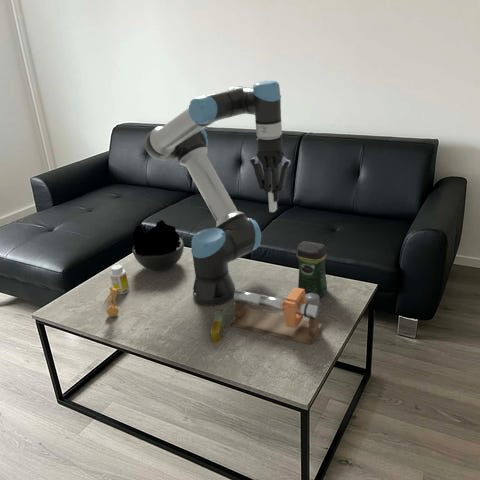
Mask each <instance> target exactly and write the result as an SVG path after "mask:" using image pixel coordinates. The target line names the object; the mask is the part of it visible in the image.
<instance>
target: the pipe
mask: <svg viewBox="0 0 480 480" xmlns="http://www.w3.org/2000/svg"><path fill="white" fill-rule="evenodd" d="M235 290H236V291H235V293H234V297H233V301H234V302H236V301H237V302H242V303H245V305H246V304H247V305H250V306H252V305H253V306H257V307H262V308H266V309H270V310H275V311H281V312H284V306H285V301H286V298H279V297H275V296H270V295H265V294H259V293H255V292H250V291H245V290H240V289H235ZM296 314H298V315H303V316H304V317H305V318H308V317H309V318H310V317H313V318H316V317H317V314H318V306H315V305H310V304H309V303H307V304H305V303H300V302H298V303H297V306H296Z"/></svg>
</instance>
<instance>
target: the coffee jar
mask: <svg viewBox="0 0 480 480" xmlns="http://www.w3.org/2000/svg"><path fill="white" fill-rule="evenodd" d="M327 255H328V254H327V247H326V245H325V244H322V243H317V242H312V241H306V240H303V241H302V242H300V243H299V244H298V246H297V250H296V258H297V261H298V283H297V288H301V289H305V295H306V294H307V293H316V294H318V295H319V298H320V297H322V296H324V295H325V294H326V292H327V290H328V285H327V284H328V283H327V275H326V266H325V265H326V264H325V263H326V258H327Z"/></svg>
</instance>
